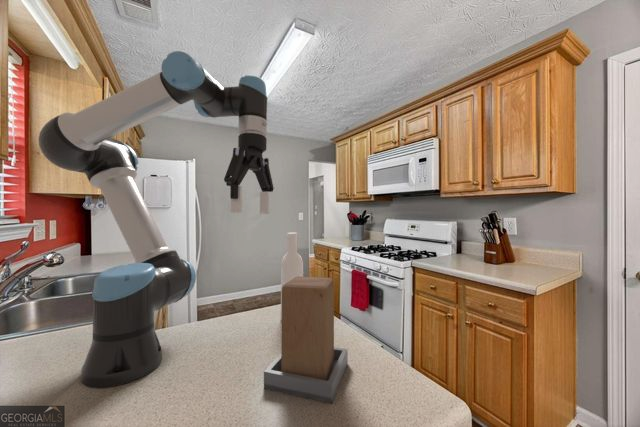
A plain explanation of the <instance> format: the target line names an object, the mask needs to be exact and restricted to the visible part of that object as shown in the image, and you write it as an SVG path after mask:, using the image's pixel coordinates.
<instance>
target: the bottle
mask: <svg viewBox="0 0 640 427" xmlns="http://www.w3.org/2000/svg"><path fill="white" fill-rule="evenodd" d="M298 238H299V235H298V232H287V233H286V241H287V242H286V248H287V249H286V253H285V254H284V256H282V260H281V263H280V321H282V287H283V285H284V284H286V283H287V282H289V281H290V280H292V279H293V278H294V277H297V276H302V277H304V261H303V258H302V256H301V255H300V254H299V253H298Z"/></svg>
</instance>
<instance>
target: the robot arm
mask: <svg viewBox="0 0 640 427" xmlns="http://www.w3.org/2000/svg"><path fill="white" fill-rule="evenodd" d="M160 67H161V71H160V72H157V73H156V74H154V75H152V76H149V77H148V78H145V79H143V80H141V81H140V82H138V83H135V84H133V85H131V86H128V87H127V88H125V89H122V90H121V91H119V92H116V93H115V94H113V95H111V96H110V95H109V97H106V98H104V99H102V100H100V101H99V102H98V101H97V102H96V103H94V104H92V105H90V106H88V107H86V108H83V109H82V110H80V111H78V112H75V113H72V112H63V113H62V114H61V113H60V114H59V115H57V116H55V117H53V118H51V119H49V121H48V122H46V123H45V124H44V125H43V127H42V128H41V130H40V131H39V135H38V146H39V149H40V151H41V153H42V154H43V156H44V157H45V158H46V159H47V160H48V161H49V162H50V163H51V164H53V165H54V166H56V167H58V168H61V169H63V170H67V171H70V172H77V173H83V174H84V175H85V176H86V177H87V180H88V182H89V184H90V186H92V187H93V188H96V189H99V190H100V191H101V194H102V196H103V199H104V200H105V202H106V203H107V206H108V208H109V210H110V212H111V214H112V216H113V218H114V221H115V222H116V224H117V225H118V229H119V230H120V232H121V235H122V237H123V238H124V241H125V243H126V245H127V246H128V249H129V251H130V253H131V255H132V257H133V259H134V261H135V262H134V263H128V264H124V265H123V264H121V265H118V266H114V267H111V268H108V269H105V270H103V271H101V272H100V273H99V274H98V275H97V276H96V277H95V278H94V282H93V290H92V293H91V294H92V295H91V296H92V341H91V344H90V347H89V349H88V352H87V355H86V357H85V360H84V364H83V365H82V366H81V370H80V375H81V376H80V378H81V379H80V381H81V384H82V385H83V386H84V387H88V388H92V389H95V388H96V389H103V388H110V387H111V388H112V387H115V386H121V385H125V384H127V383H130V382H133V381H135V380H138V379H140V378H142V377H145V376H147V375H149V374H150V373H151V372H153V371H155V370H156V369H157V368H158V367H159V366H160V365H161V363H162V361H163V349H162V346H161V344H160V341H159V338H158V335H157V333H156V329H155V312H156V311H158V310H160V309H163V308H164V307H167V306H169V305H172V304H174V303H178V302H179V301H181V300H182V299H184V298H186V297H187V296H188V295H189V294H191V292H192V291H193V289H194V286H195V284H196V279H197V274H196V269H195V267H194V266H193V265H192V263H190V262H189V261H187V260H185V259H181V258H180V256H179V254H178V252H177V250H176V249H173V248H170V247H168V245H167V242H166V240H165V239H164V237H163V235H162V233H161V231H160V229H159V227H158V225H157V222H156V221H155V219H154V217H153V215H152V212H150V209H149V207H148V204H147V203H146V201H145V199H144V197H143V195H142V194H141V191H140V189H139V187H138V185H137V183H136V181H135V179H136V177H137V176H138V173H137V171H138V169H139V167H138V165H139V159H138V158H139V157H138V156H137V154H136V152H135V151H134V149H133V148H132V147H131V146H130V145H128V144H127V143H124V142H122V141H121V140H119V139H116V138H113V137H115V136H117V135H119V134H121V133H123V132H125V131H128V130H130V129H133V128H134V127H137V126H139V125H140V124H143V123H144V122H147V121H149V120H152V119H154V118H155V117H157V116H160V115H162V114H164V113H166V112H168V111H170V110H172V109H174V108H176V107H179V106H181V105H184V104H186V103H188V102H190V101H193V106H194V107H195V109H196V110H197V113H198V114H199V115H200V116H202V117H205V118H222V117H223V118H225V117H238V125H237V126H238V129H237V130H238V131H237V132H238V134H239V135H238V139H237V144H238V145H237V147H234V148H233V150H232V157H231V159H230V163H229V164H228V167H227V170H226V173H225V176H224V179H223V181H224V183H226V184H225V185H226V186H227V187H230V213H239V214H241V213H242V212H243V186H242V185H241V184H242V182H243V181H244V178H245V176H246V175H247V173H248V172H249V170H250V171H252V173H253V174H254V175H255V177H256V179H257V182H258V185H259V187H260V190H261V191H259V214H262V215H263V214H264V215H265V214H270V193H273V191H274V189H275V187H274V184H273V178H272V175H271V171H270V165H269V164H270V163H269V161H270V160H269V158H268V157H263V153H264V152H266V151H267V143H268V142H267V138H266V136H267V126H268V122H267V121H268V120H267V118H268V117H267V116H268V88H267V82H266V81H265V80H264V79H262V78H261V77H260V76H256V75H252V74H247V75H244V76H242V77H240V78H239V81H238V85H237V86H222V85H221V84H220V83H219V82H218V81H217V80H216V79H215V78H214V77H212V75H211V74H210V73H209V72H208V71H207V70H206V69H205V68H204V67H203V65H202V64H201V63H200V62H199V61H197V60H196V59H195V58H193V57H192V56H191V55H190V54H188V53H187V52H186V51H185V52H184V51H181V50H176V51H175V50H174V51H172V52H170V53H168V54H167V55H166V58H165V59H163V60H162V63H161V66H160Z"/></svg>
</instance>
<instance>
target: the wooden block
mask: <svg viewBox="0 0 640 427" xmlns="http://www.w3.org/2000/svg"><path fill="white" fill-rule="evenodd" d="M334 347H335V282H334V280H333V278H331V277H321V276H320V277H316V276H303V277H302V276H297V277H294V278H293V279H292V280H290V281H289V282H287V283H286V284H284V285H283V287H282V320H281V347H280V348H281V352H280V353H281V372H285V373H290V374H295V375H300V376H305V377H311V378H316V379H321V380H326V381H327V380H328V377H329V374H330V370H331V367H332V364H333V361H334Z"/></svg>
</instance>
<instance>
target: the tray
mask: <svg viewBox="0 0 640 427" xmlns="http://www.w3.org/2000/svg"><path fill="white" fill-rule="evenodd" d="M348 355H349V354H348V348H341V347H335V346H334V361H333V364H332V367H331V370H330V374H329V377H328V380H327V381H326V380H321V379H316V378H311V377H305V376H300V375H295V374H290V373H285V372H281V352H280V353H279V355H278V356H277V357H275V359H274V360H273V361H272V362H271V363H270V364H269V365H268V366H267V368H265V370H264V371H263V389H264V390H268V391H272V392H277V393H282V394H286V395H291V396H295V397H299V398H304V399H309V400H314V401H319V402H321V403H327V404H333V402H334V400H335V397H336V395H337V392H338V389H339V387H340V384H341V381H342V379H343V376H344V373H345V371H346V369H347V366H348V362H349V360H348Z"/></svg>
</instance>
